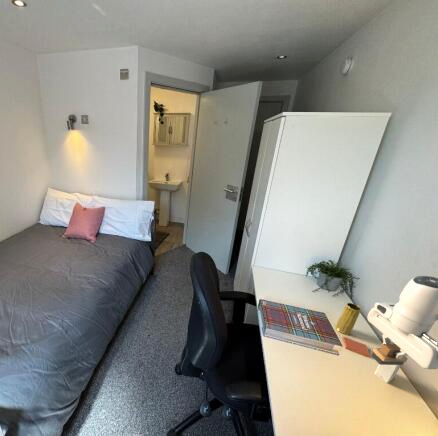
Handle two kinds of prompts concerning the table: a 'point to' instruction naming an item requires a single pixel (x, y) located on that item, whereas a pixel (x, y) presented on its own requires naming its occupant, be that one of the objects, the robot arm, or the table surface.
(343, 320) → the vase
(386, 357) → the brush
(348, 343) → the tile
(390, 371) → the cosmetic box
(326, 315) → the table surface
